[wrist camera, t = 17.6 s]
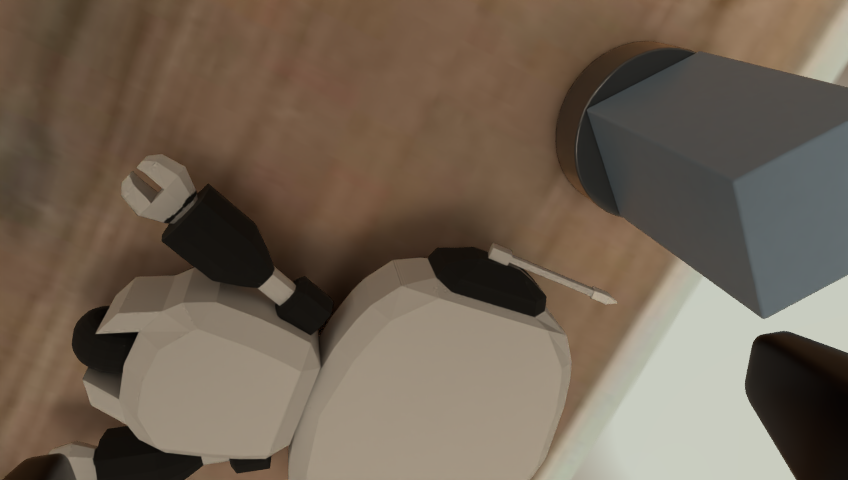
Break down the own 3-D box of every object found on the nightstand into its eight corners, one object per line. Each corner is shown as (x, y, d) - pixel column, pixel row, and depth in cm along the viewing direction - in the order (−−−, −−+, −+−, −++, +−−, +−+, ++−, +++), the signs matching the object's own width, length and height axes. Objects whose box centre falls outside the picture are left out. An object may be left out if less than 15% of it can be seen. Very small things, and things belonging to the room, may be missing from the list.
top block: (619, 215, 23) (763, 321, 16) (585, 108, 21) (733, 181, 15) (724, 160, 23) (907, 244, 17) (699, 50, 21) (895, 97, 15)
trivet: (557, 218, 24) (576, 234, 22) (551, 55, 21) (573, 63, 20) (701, 187, 25) (727, 201, 23) (711, 28, 22) (741, 34, 21)
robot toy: (56, 440, 23) (450, 517, 28) (5, 543, 19) (477, 614, 24) (150, 104, 20) (584, 253, 24) (112, 141, 16) (644, 312, 20)
